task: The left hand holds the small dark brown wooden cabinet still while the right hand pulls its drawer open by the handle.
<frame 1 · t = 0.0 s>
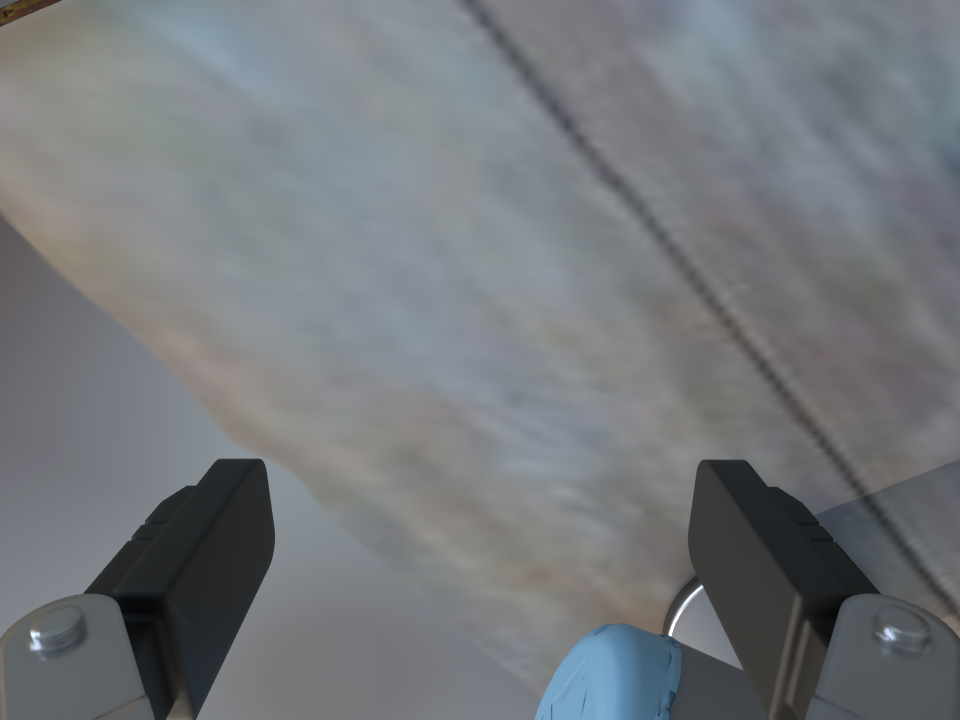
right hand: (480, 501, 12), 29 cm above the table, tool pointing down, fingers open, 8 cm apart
brown wooden rod: (45, 4, 34), on the table
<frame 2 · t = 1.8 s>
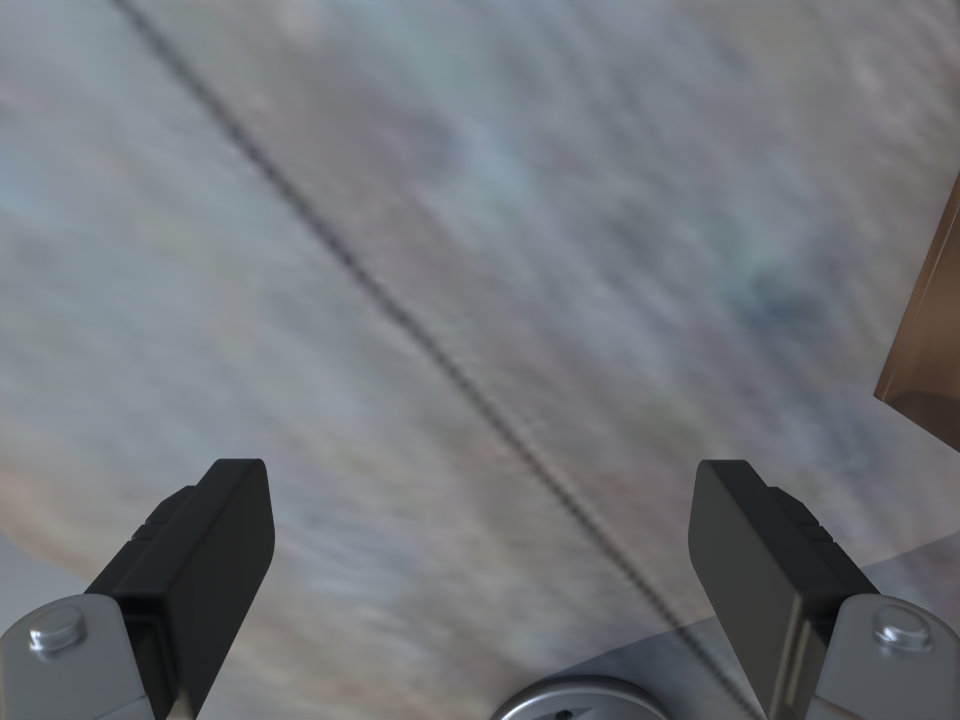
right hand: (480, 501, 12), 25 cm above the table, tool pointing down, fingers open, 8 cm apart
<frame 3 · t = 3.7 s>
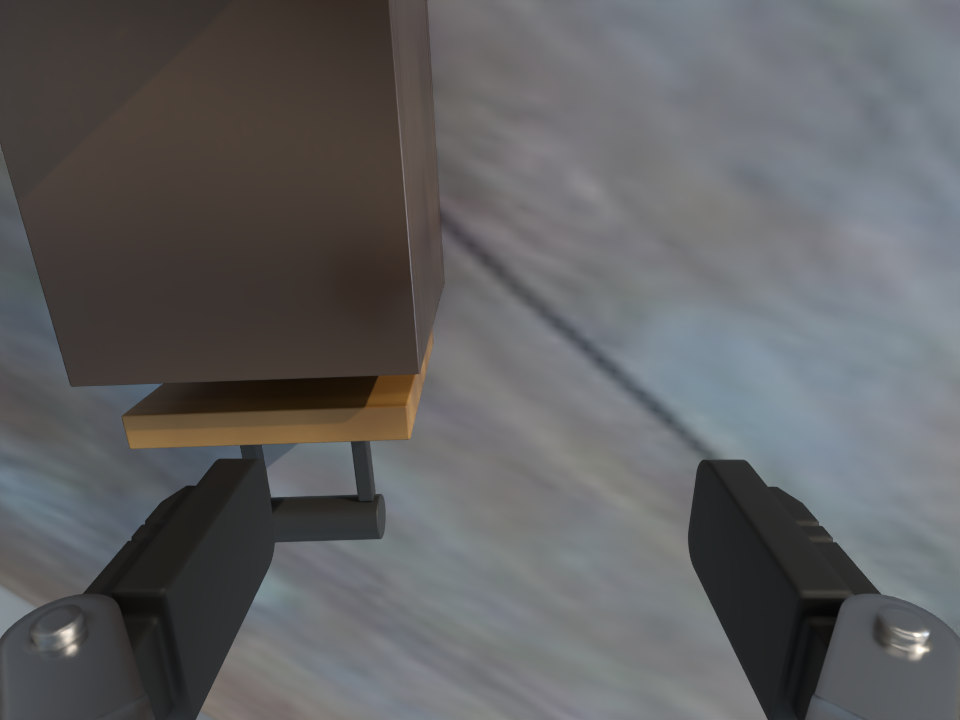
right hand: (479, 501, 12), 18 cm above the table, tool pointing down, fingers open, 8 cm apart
drawer: (282, 205, 22), point 6 cm above the table, slide at 1.4 cm
cabinet: (302, 33, 25), on the table, touching left hand
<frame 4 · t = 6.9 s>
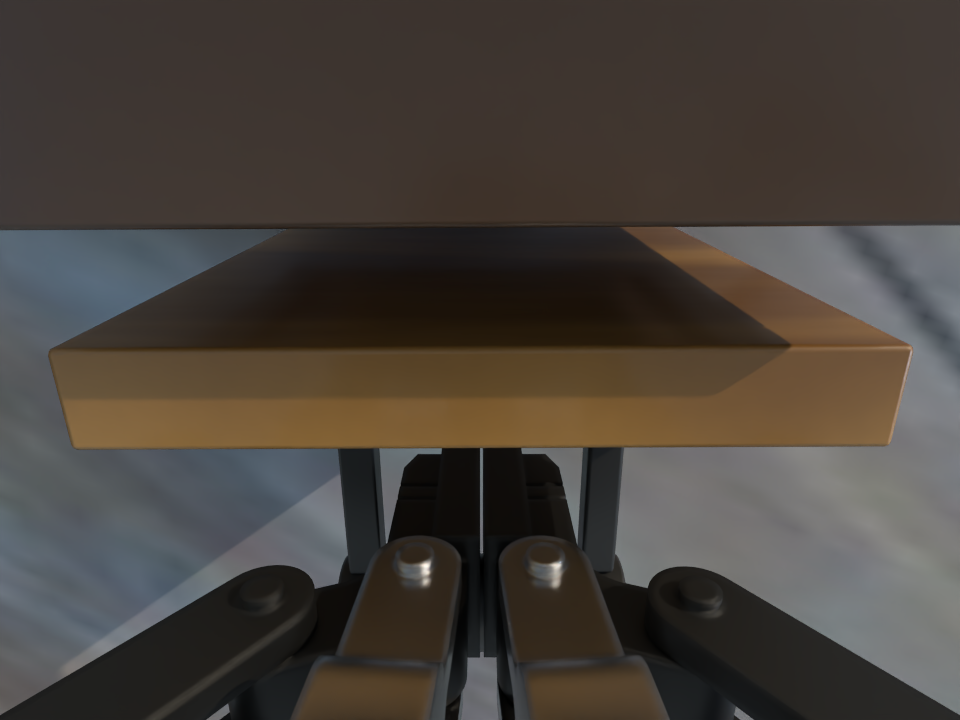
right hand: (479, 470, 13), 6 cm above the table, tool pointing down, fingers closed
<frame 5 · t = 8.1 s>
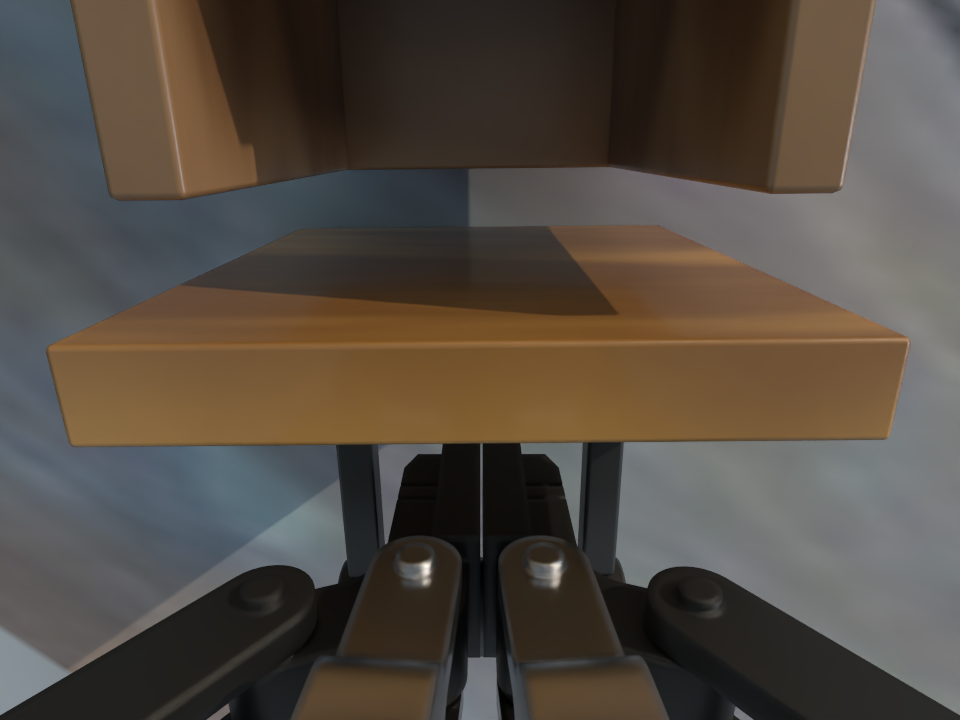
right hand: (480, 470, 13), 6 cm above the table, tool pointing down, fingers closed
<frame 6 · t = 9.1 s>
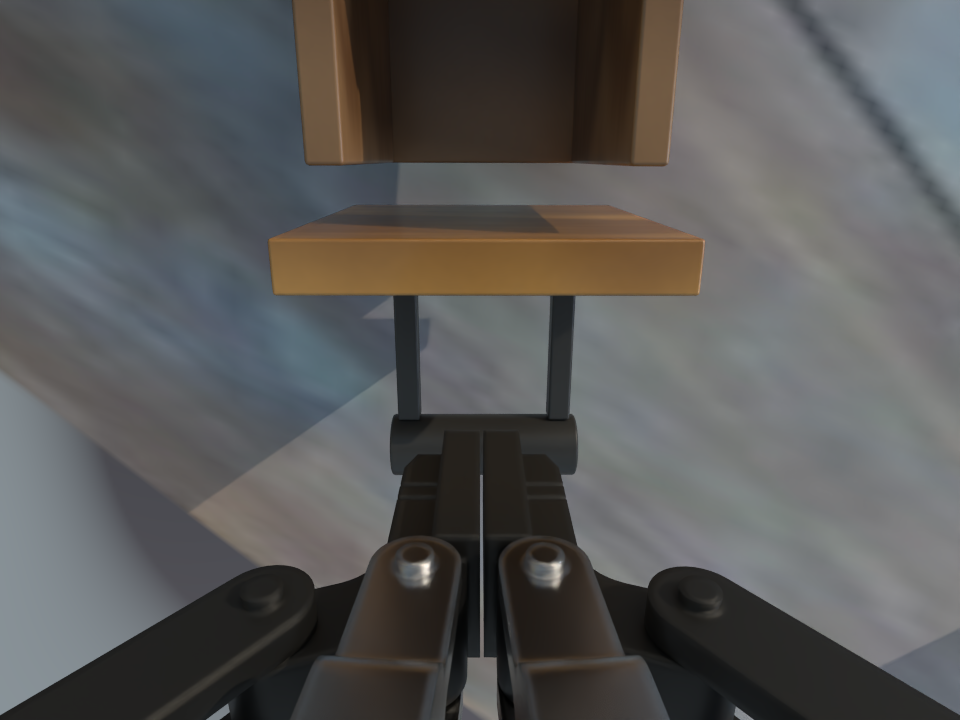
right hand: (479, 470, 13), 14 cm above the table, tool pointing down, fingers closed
when the left hand's fingers open (7 cm above the table, at t = 10.1 s): cabinet stays where it is, on the table.
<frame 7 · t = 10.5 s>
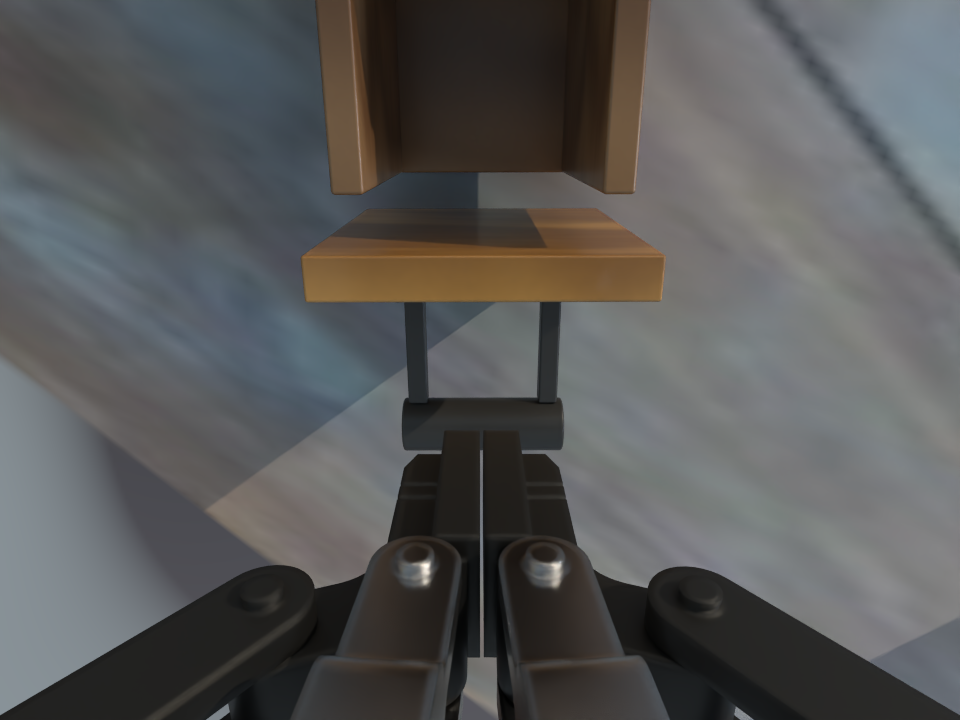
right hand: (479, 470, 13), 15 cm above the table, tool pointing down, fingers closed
drawer: (482, 22, 18), point 6 cm above the table, slide at 8.8 cm
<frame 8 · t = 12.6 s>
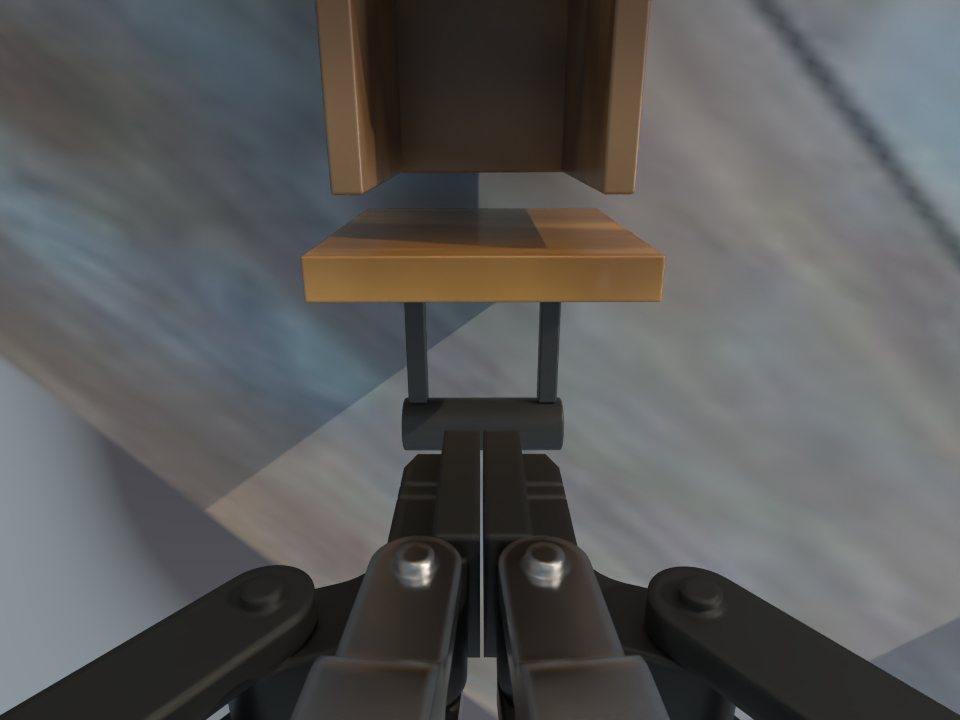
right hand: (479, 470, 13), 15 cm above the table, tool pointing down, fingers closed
drawer: (482, 22, 18), point 6 cm above the table, slide at 8.8 cm
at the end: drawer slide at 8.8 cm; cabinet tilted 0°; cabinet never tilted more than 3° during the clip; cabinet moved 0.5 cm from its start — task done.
